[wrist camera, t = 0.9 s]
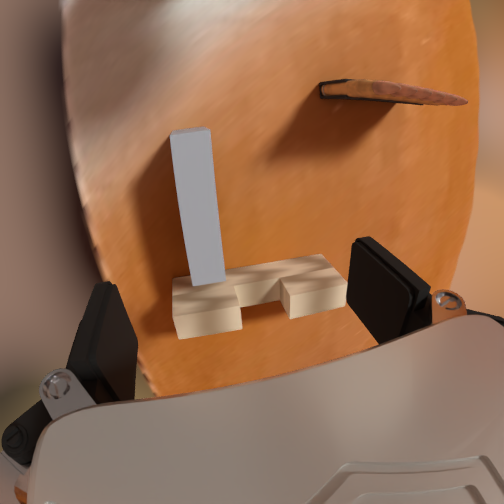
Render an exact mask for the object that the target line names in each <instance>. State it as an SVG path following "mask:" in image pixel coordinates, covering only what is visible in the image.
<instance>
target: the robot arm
mask: <svg viewBox="0 0 504 504" xmlns="http://www.w3.org/2000/svg"><path fill="white" fill-rule="evenodd" d="M430 288H431V286H429V285H428V284H427V283H426V282H425V281H424V280H423V279H421V278H420V277H419V276H418V275H417V274H416V273H414V272H413V271H412V270H411V269H410V268H408V267H407V266H406V265H405V264H404V263H402V262H401V261H400V260H399V259H398V258H396V257H395V256H394V255H393V254H392V253H390V252H389V251H388V250H387V249H385V248H384V247H383V246H382V245H380V244H379V243H378V242H377V241H375V240H374V239H373V238H371V237H370V236H368V237H362V238H357V239H356V240H355V242H354V243H353V244H352V248H351V258H350V267H349V276H348V284H347V292H346V300H347V303H348V305H349V306H350V307H351V308H352V310H353V311H354V312H355V314H356V315H357V316H358V317H359V319H360V320H361V321H362V323H363V324H364V325H365V326H366V328H367V329H368V330H369V332H370V333H371V334H372V336H373V337H374V338H375V340H376V341H377V342H378V344H379V345H376V346H373V347H371V348H368V349H365V350H362V351H359V352H356V353H353V354H350V355H347V356H344V357H340V358H337V359H334V360H331V361H327V362H324V363H321V364H317V365H314V366H310V367H306V368H303V369H299V370H295V371H292V372H288V373H284V374H280V375H276V376H272V377H267V378H263V379H259V380H254V381H249V382H245V383H240V384H235V385H230V386H225V387H219V388H214V389H208V390H202V391H196V392H190V393H183V394H176V395H168V396H161V397H153V398H145V399H136V400H134V396H135V378H136V364H137V352H138V340H137V337H136V334H135V332H134V329H133V327H132V325H131V322H130V320H129V317H128V315H127V312H126V309H125V307H124V304H123V302H122V299H121V296H120V293H119V291H118V288H117V286H116V285H115V284H113V285H112V283H111V282H110V281H107V282H101V283H96V284H95V286H94V289H93V291H92V294H91V297H90V299H89V302H88V305H87V308H86V310H85V313H84V316H83V319H82V320H81V322H80V324H79V327H78V330H77V333H76V336H75V340H74V342H73V346H72V349H71V352H70V355H69V359H68V362H67V366H66V369H61V368H60V369H56V370H53V371H52V372H50V373H48V374H47V375H46V376H45V377H44V378H43V380H42V381H41V384H40V386H39V394H40V397H41V400H40V401H39V402H37V403H36V404H35V405H34V406H32V407H31V408H30V409H29V410H28V411H26V412H25V413H24V414H23V415H21V416H20V417H19V418H17V419H16V420H15V421H14V422H13V423H11V424H10V425H9V426H8V427H7V428H6V429H5V431H4V433H3V436H2V447H3V451H2V452H0V504H504V319H503V318H502V317H499V316H494V315H490V314H486V313H481V312H477V311H473V310H469V309H466V305H465V302H464V300H463V298H462V297H461V296H460V295H458V294H457V293H455V292H453V291H450V290H444V289H442V290H437V291H435V292H434V293H433V294H432V295H431V294H430V293H429V291H430Z"/></svg>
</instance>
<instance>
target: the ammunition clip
mask: <svg viewBox="0 0 504 504" xmlns="http://www.w3.org/2000/svg"><path fill="white" fill-rule="evenodd" d="M319 86H320V98H321V99H352V100H369V101H381V102H392V103H403V104H415V105H423V104H426V105H436V106H437V105H452V106H458V105H464V104H467V103H468V101H467V100H466V99H464V98H462V97H460V96H457V95H453V94H449V93H446V92H441V91H436V90H433V89H428V88H422V87H418V86H410V85H407V84H401V83H393V82H389V81H375V80H368V79H361V80H352V79H341V80H333V81H326V82H320V83H319Z"/></svg>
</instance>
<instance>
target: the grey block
mask: <svg viewBox="0 0 504 504" xmlns="http://www.w3.org/2000/svg"><path fill="white" fill-rule="evenodd" d="M170 143H171V152H172V160H173V168H174V175H175V183H176V190H177V197H178V204H179V210H180V217H181V223H182V229H183V235H184V241H185V247H186V252H187V258H188V263H189V269H190V274H191V279H192V284H193V286H199V285H205V284H211V283H217V282H223V281H226V275H225V267H224V259H223V251H222V242H221V233H220V224H219V215H218V206H217V196H216V186H215V176H214V166H213V155H212V144H211V133H210V129H208V128H206V127H196V128H189V129H181V130H174V131H172V133H171V134H170Z"/></svg>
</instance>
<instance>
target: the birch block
mask: <svg viewBox="0 0 504 504" xmlns="http://www.w3.org/2000/svg"><path fill="white" fill-rule="evenodd" d="M225 275H226V281H223V282H217V283H211V284H205V285H199V286H193V284H192V279H191V275H190V276H184V277H178V278H173V280H172V317H173V320H174V324H175V327H176V331H177V334H178V338H179V339H185V338H192V337H198V336H205V335H211V334H216V333H222V332H228V331H233V330H239V329H242V320H241V310H240V308H241V307H246V306H251V305H257V304H262V303H267V302H272V301H278V300H280V301H281V303H282V305H283V307H284V309H285V311H286V313H287V315H288V317H289V319H293V318H297V317H302V316H306V315H311V314H315V313H319V312H323V311H327V310H331V309H335V308H339V307H343V306H345V303H346V292H347V284H348V283H347V282H346V281H345V279H344V278H343V277H342V276H341V275H340V274H339V273H338V272H337V271H336V269H335V268H334V267H333V266H332V265H331V264H330V263H329V262H328V261H327V260H326V258H325V257H324V256H323V255H322V254H317V255H311V256H305V257H299V258H293V259H288V260H282V261H276V262H270V263H264V264H258V265H252V266H246V267H240V268H234V269H228V270H225Z"/></svg>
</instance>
